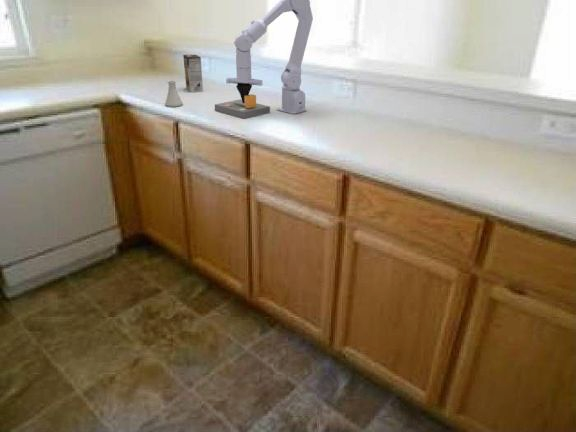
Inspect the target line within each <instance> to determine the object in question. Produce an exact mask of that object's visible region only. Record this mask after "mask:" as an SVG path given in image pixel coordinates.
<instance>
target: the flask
mask: <svg viewBox="0 0 576 432" xmlns="http://www.w3.org/2000/svg"><path fill="white" fill-rule="evenodd" d="M176 83H177V81H176V80H168V81H167V84H168V91H167V94H166V95H167V96H166V100H165V103H164V106H166V107H170V108H177V107H182V106H183V105H184V102H183V101H182V99H181V96H180V94H179V93H178V90H177V86H176Z"/></svg>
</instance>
